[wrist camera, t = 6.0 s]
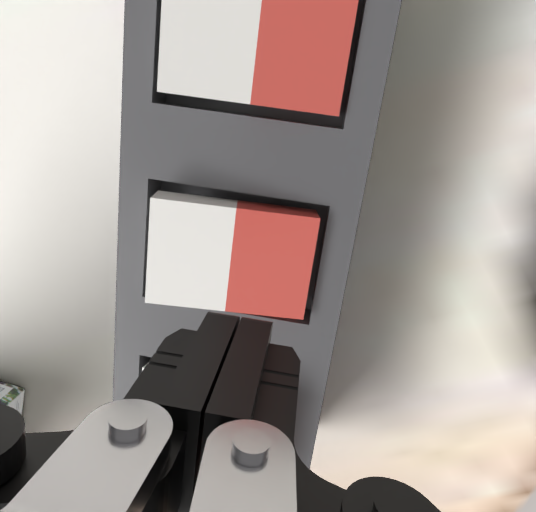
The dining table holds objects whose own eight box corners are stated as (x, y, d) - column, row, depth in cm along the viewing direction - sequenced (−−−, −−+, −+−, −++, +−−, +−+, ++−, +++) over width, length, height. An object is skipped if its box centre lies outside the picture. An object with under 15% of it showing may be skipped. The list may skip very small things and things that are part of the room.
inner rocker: (169, -39, 15) (164, -53, 14) (349, -8, 16) (361, -18, 14) (162, 92, 16) (156, 91, 15) (329, 114, 17) (338, 116, 16)
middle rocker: (158, 190, 17) (150, 197, 16) (315, 209, 18) (320, 218, 16) (152, 288, 19) (144, 302, 17) (299, 304, 19) (303, 319, 18)
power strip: (176, -47, 19) (127, -98, 15) (392, -22, 19) (415, -67, 14) (149, 398, 26) (111, 462, 21) (307, 428, 26) (303, 500, 21)
